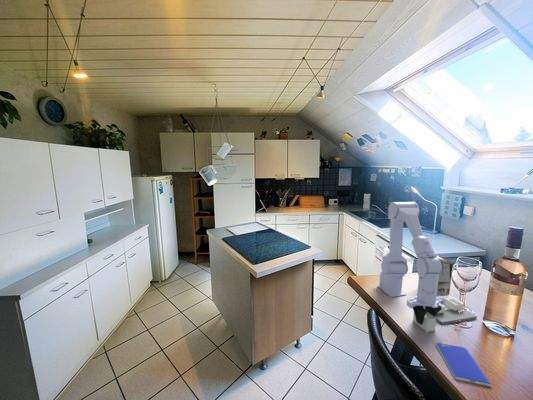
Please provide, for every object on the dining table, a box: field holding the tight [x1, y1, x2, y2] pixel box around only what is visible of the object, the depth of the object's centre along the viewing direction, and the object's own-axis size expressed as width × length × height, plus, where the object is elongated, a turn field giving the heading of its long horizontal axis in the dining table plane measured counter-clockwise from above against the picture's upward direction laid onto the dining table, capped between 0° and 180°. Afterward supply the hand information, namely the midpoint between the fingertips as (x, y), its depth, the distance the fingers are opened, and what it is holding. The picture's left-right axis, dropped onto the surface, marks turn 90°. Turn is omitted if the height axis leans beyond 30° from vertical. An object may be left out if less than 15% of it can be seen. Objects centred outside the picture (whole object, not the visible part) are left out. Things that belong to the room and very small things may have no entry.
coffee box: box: [437, 255, 454, 296], centre depth 104 cm, size 9×6×16 cm
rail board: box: [423, 294, 478, 326], centre depth 92 cm, size 14×16×4 cm
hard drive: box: [435, 342, 492, 387], centre depth 67 cm, size 2×8×12 cm
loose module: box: [412, 312, 437, 333], centre depth 83 cm, size 6×4×5 cm, turn 10°
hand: (423, 322), depth 83 cm, fingers closed on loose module, 3 cm apart
